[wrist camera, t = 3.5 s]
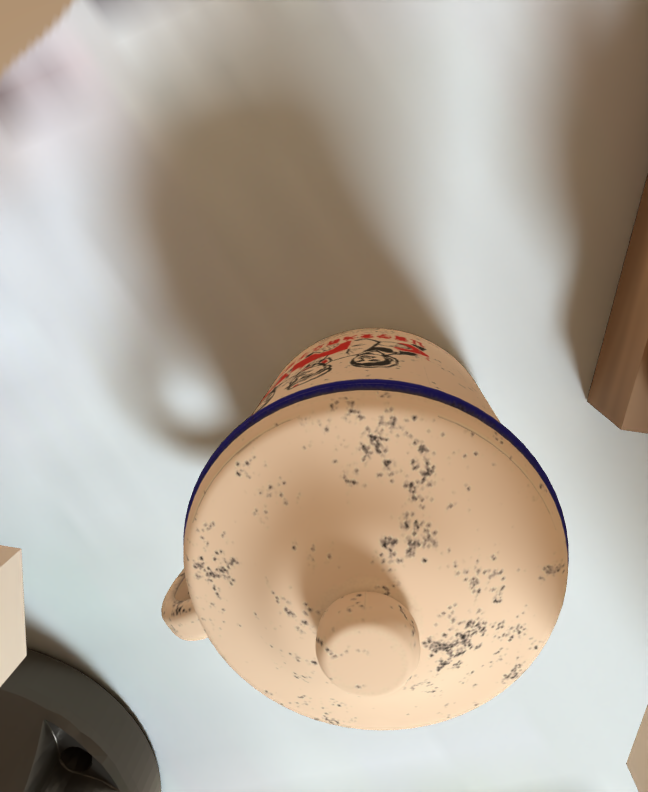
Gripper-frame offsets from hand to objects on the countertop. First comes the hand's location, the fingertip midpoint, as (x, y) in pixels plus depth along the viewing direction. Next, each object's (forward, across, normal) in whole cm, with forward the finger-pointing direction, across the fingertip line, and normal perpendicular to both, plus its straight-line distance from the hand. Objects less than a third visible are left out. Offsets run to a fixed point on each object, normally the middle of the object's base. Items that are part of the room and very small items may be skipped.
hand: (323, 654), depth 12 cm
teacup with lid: (+11, 0, 0) cm, 11 cm away
